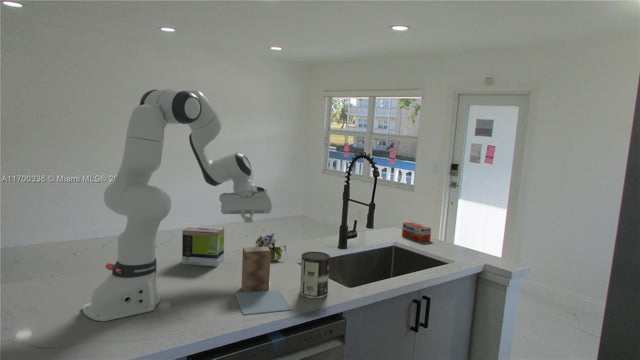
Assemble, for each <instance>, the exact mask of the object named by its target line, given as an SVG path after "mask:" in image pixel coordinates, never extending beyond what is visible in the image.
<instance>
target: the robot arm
mask: <svg viewBox="0 0 640 360" xmlns="http://www.w3.org/2000/svg"><path fill="white" fill-rule="evenodd" d="M168 124H170V125H171V124H174V125H175V124H177V125H178V124H181V125H188V127H189V128H190V130H191V131H190V134H189V137H188V141H189V145H190V147H191V150H192V152H193V155H194V158H195V159H196V161H197V163H198V165H199V167H200V170H201V173H202V176H203V179H204V182H205V183H206V184H208V185H210V186H213V187H217V186H219V185H221V184H223V183H226V182H228V181H229V182H230V181H232V182H233V186H232V188H233V192H223V193H221V194H219V197H218V198H219V201H220V203H221V204H220V213H221V214H222V215H240V217H241V218H242V219H243V220H244V221H243V222H244V223H249V224H250V223H253V222H254V221H253V218H254V216H255V215H260V214H262V215H263V214H265V215H267V214H270V213H271V212H272V210H273V204H272V201H271V197H270V195H269V194H267V193H268V189H267V188H266V187H262V186H259V185H256V184H255V183H254V173H253V169H252V166H251V163H250V161H249V159H248V158H247V156H246V155H244V154H242V153H240V152H234V153H231V154H228V155H226V156H224V157H220V158H217V159H213V160H212V159H210V157H209V155H208V152H207V151H206V147H207V146H208V145H209V144H210V143H212V141H214V140H215V139H216V138H217V136H218V135H219V134H220V132H221V128H222V120H221V118H220V116H219V114H218V112H217V110H216V109H215V107H214V105H213V104H212V103H211V102H210V100H209V99H208V98H207V97H206V96H205V95H204V94H203V92H201V91H199V90H197V89H189V90H178V89H176V90H175V89H172V88H171V89H169V88H168V89H167V88H164V89H151V90H148V91H146V92H145V93H144V94H143V95H142V96H141V98H140V101H139V105H137V106H135V107H134V108H133V110H132V112H131V115H130V117H129V121H128V125H127V129H126V134H125V142H124V149H123V156H122V160H121V165H120V167H119V170H118V172H117V174H116V176H115V178H114V180H113V181H112V182H111V183H110V184H109V185H108V186H107V187H106V189H105V191H104V193H103V202H104V204H105V206H106V207H107V208H108V209H109V210H111V211H112V212H115V213H116V214H118V215H122V216H124V217H127V220H126V225H125V228H124V230H123V232H121V233H120V234H119V236H117V260H116V262H115V264H113V263H111V262H107V263H106V264H105V266H104V267H105V269H106V270H108V271H112V272H111V274H110V275H108V277H106V278H105V279H104V280H103V281H101V282H100V283H99V284H98V285H97V286H96V287H94V289H93V291H92V293H91V297H90V302H88V303H85V304H83V306H82V313H83V314H84V316H86V317H88V318H89V319H91V320H94V321H98V322H107V321H108V322H109V321H112V320H116V319H123V318H126V317H131V316H134V315H139V314H140V315H141V314H143V313H149V312H152V311H154V310H155V308H156V306H157V305H158V304H159V303H160V302H161V298H160V296H159V295H160V294H159V291H158V286H157V278H156V277H157V276H156V273H157V258H156V241H157V240H156V238H157V233H158V229H159V226H160V224H161V222H162V220H164V219H165V218H166V217H168V215H169V213H170V211H171V208H172V199H171V197H170V195H169V194H168V193H167V192H166V191H164V189H163V190H162V189H161V188H159V187H157V186H154V185H150V184H149V182H150V179H151V178H152V176H153V174H154V172H156V171H157V170H158V169H159V168H160V166H161V163H162V155H163V148H164V140H165V139H164V138H165V129H166V127H167V125H168ZM248 214H249V216H246V215H248Z"/></svg>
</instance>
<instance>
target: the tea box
mask: <svg viewBox="0 0 640 360" xmlns="http://www.w3.org/2000/svg"><path fill="white" fill-rule="evenodd" d="M181 232H182V238H181V239H182V240H181V241H182V244H181V245H182V247H181V248H182V249H181V250H182V252H181V254H182V256H181V258H182V259H181V260H182V261H181V263H182V265H189V266H191V265H193V266H201V267H202V266H203V267H204V266H205V267H218V266H219V265H221V263H223V261H224V260H225V259H224V258H225V257H224V256H225V227H221V226H220V227H219V226H206V225H205V226H204V225H203V226H202V225H190V226H188V227H186V228H184V229H182V231H181Z"/></svg>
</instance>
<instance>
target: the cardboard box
mask: <svg viewBox="0 0 640 360" xmlns="http://www.w3.org/2000/svg"><path fill="white" fill-rule="evenodd" d="M270 252H271V250H270V249H269V248H268V247H256V246H253V247H251V246H249V247H248V246H247V247H243V248H242V261H241V262H242V264H241V265H242V266H241V289H242V291H243V292H242V293H249V292H261V291H270V272H271V271H270V269H271V257H270Z"/></svg>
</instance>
